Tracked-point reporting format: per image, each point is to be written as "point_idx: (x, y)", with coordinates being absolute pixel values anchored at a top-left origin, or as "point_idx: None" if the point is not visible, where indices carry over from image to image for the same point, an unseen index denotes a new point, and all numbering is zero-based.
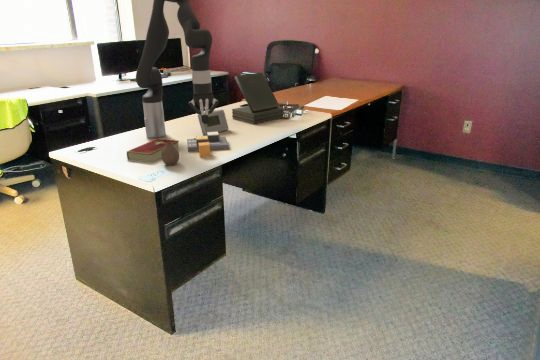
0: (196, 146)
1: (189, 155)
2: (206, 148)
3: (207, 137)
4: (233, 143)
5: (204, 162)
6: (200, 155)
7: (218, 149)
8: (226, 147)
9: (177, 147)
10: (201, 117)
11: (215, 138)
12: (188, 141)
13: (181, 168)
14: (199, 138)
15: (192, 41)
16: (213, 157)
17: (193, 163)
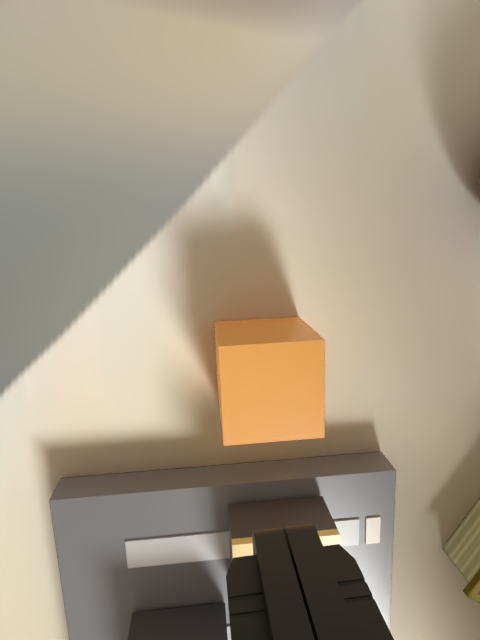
0: (324, 488)
1: (373, 366)
2: (248, 335)
3: None
4: (23, 611)
5: (266, 160)
6: (294, 319)
7: (146, 472)
8: (76, 484)
9: (452, 547)
10: (389, 632)
11: (161, 627)
12: None
13: (452, 43)
14: None
15: None
16: (189, 279)
17: (353, 154)
